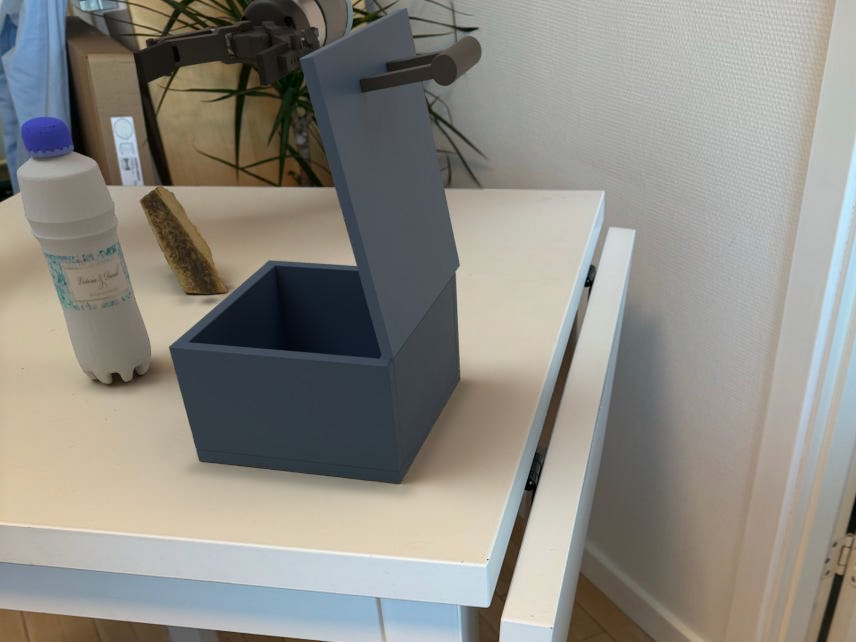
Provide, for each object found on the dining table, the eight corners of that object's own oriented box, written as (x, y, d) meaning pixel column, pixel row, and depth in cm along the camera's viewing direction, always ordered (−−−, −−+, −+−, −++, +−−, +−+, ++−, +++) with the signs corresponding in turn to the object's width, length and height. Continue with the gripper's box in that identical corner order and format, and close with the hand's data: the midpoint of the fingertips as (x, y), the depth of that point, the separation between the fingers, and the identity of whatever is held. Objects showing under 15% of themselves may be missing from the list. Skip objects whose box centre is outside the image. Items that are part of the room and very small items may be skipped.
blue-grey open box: (198, 461, 68) (168, 346, 62) (287, 363, 80) (268, 259, 74) (400, 484, 65) (388, 366, 59) (460, 378, 77) (455, 272, 71)
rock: (140, 241, 99) (110, 260, 91) (173, 169, 95) (145, 183, 87) (229, 300, 102) (208, 324, 94) (265, 234, 99) (246, 253, 90)
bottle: (93, 397, 77) (4, 133, 63) (72, 368, 81) (-16, 115, 67) (170, 375, 79) (100, 118, 66) (145, 349, 83) (75, 102, 70)
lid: (298, 58, 48) (418, 32, 46) (396, 9, 61) (494, -13, 58) (382, 360, 59) (482, 350, 57) (450, 266, 71) (535, 256, 69)
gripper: (385, 70, 107) (319, 114, 92) (194, 67, 112) (102, 108, 97) (378, -7, 102) (308, 25, 87) (179, -7, 107) (79, 24, 92)
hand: (199, 69), depth 92 cm, fingers open, 13 cm apart
